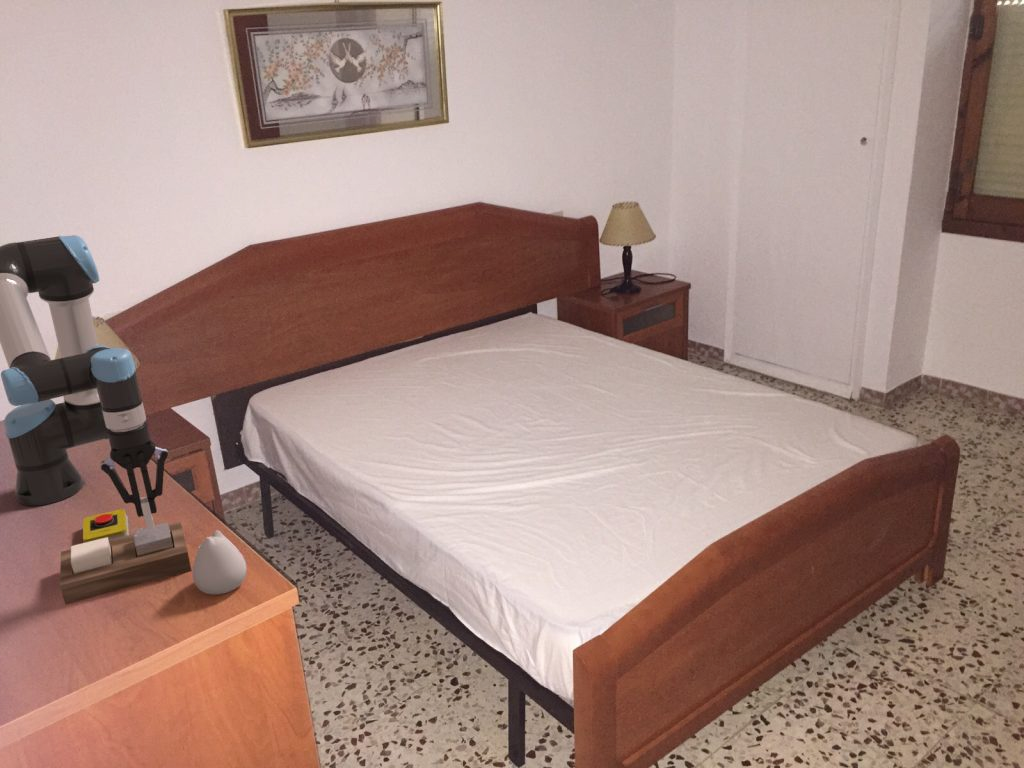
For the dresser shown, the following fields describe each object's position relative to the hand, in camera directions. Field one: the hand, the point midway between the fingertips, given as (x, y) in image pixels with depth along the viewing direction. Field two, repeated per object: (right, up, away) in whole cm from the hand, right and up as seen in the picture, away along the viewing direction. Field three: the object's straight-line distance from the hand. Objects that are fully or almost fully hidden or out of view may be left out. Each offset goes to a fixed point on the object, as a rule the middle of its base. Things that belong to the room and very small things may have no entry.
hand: (150, 527), depth 175 cm
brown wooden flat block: (-5, -9, +1) cm, 10 cm away
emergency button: (-17, -5, +15) cm, 23 cm away
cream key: (-11, -7, -3) cm, 13 cm away
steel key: (0, -5, +2) cm, 5 cm away
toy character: (+17, -11, -6) cm, 21 cm away
